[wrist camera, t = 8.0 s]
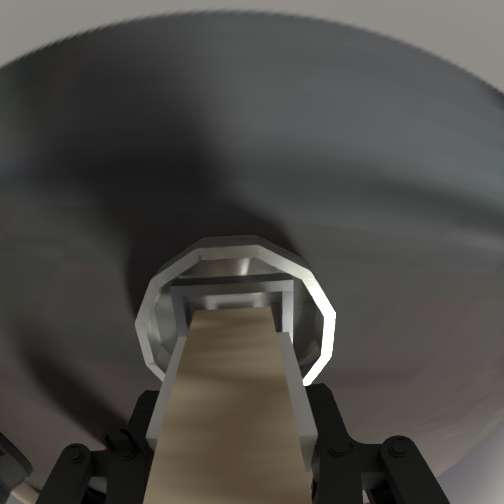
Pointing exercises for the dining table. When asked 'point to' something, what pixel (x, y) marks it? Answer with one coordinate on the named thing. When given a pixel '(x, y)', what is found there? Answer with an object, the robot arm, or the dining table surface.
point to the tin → (236, 298)
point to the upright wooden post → (229, 418)
